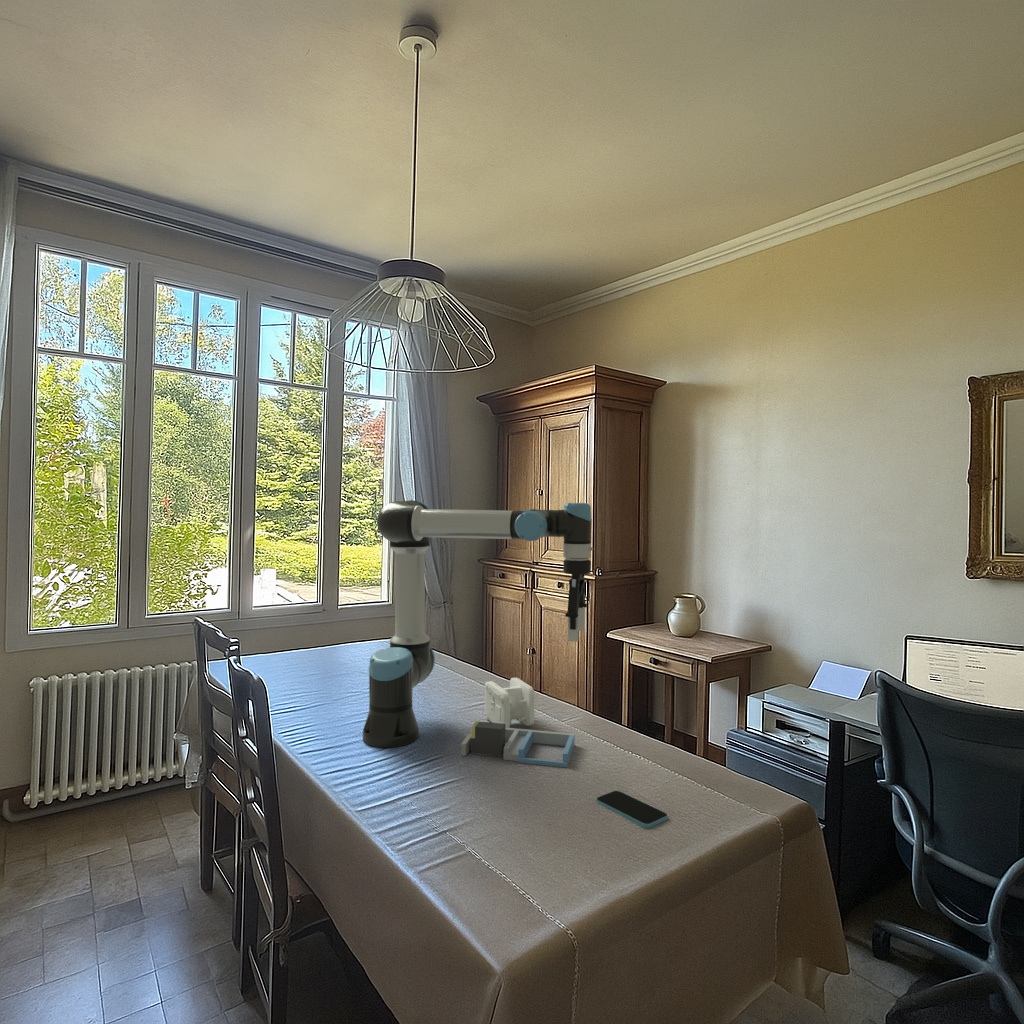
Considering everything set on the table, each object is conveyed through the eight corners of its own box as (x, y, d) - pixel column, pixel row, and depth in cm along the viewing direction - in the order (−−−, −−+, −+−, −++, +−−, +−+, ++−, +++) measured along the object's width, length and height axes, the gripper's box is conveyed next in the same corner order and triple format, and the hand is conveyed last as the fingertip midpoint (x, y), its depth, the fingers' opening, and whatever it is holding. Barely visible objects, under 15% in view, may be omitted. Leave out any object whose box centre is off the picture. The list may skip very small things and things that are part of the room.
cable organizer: (536, 729, 184) (536, 689, 183) (502, 735, 179) (502, 693, 179) (514, 713, 197) (514, 675, 197) (482, 718, 193) (482, 679, 193)
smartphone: (616, 789, 146) (670, 814, 134) (616, 794, 146) (670, 819, 134) (593, 798, 141) (646, 825, 129) (593, 803, 141) (646, 830, 129)
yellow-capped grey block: (471, 753, 167) (471, 726, 167) (475, 747, 171) (475, 721, 171) (501, 756, 165) (501, 729, 165) (505, 750, 169) (505, 723, 169)
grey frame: (460, 756, 165) (460, 744, 164) (475, 735, 179) (476, 724, 179) (566, 767, 158) (567, 755, 158) (574, 744, 173) (574, 733, 172)
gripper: (585, 564, 165) (584, 646, 165) (595, 555, 189) (594, 627, 190) (556, 563, 166) (555, 645, 167) (569, 554, 191) (569, 625, 191)
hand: (576, 635), depth 178 cm, fingers open, 13 cm apart
